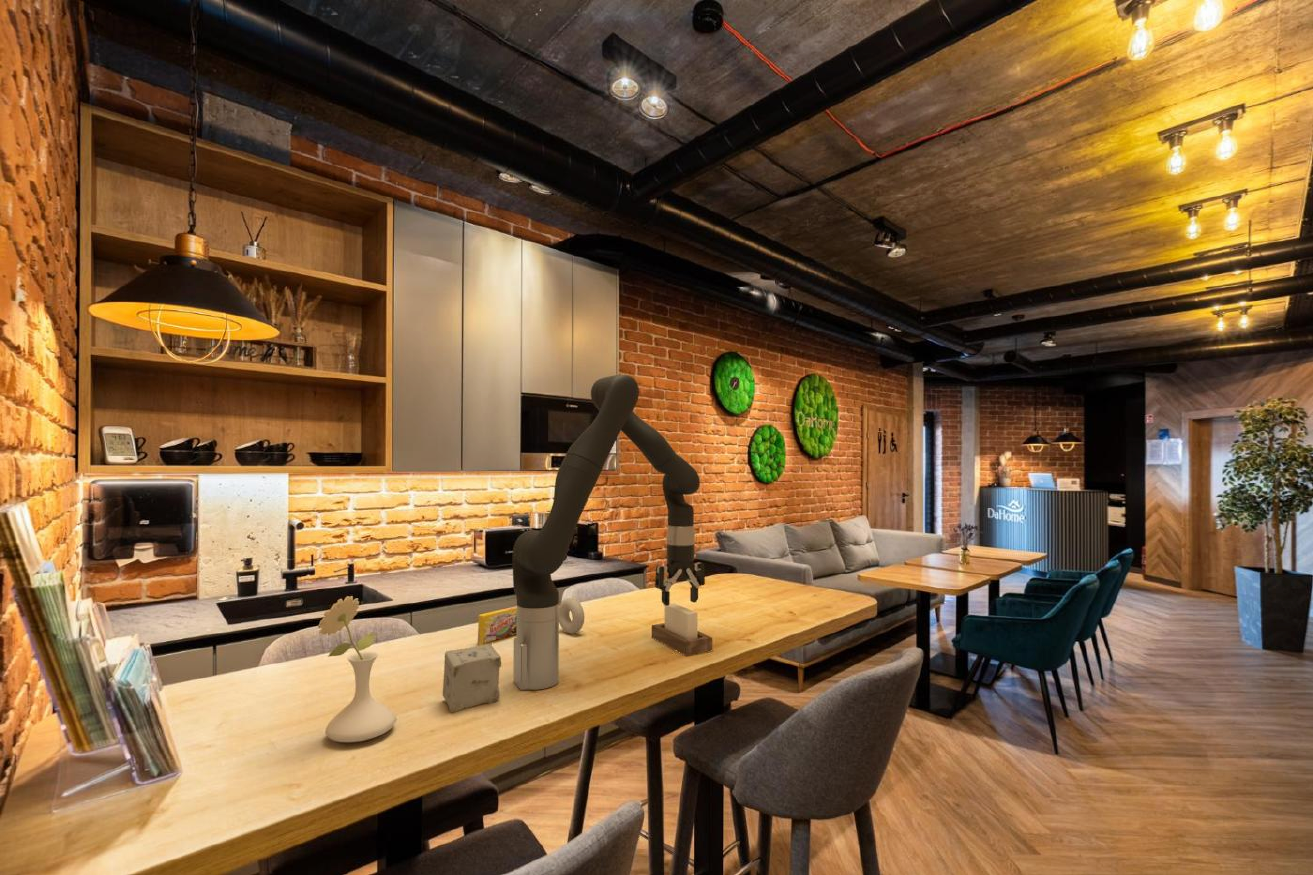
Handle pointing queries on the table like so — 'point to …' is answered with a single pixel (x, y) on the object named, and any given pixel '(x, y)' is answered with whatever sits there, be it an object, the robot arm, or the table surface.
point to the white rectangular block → (681, 621)
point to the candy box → (497, 626)
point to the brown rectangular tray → (682, 641)
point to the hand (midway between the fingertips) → (680, 603)
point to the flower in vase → (363, 712)
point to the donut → (577, 615)
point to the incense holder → (471, 677)
